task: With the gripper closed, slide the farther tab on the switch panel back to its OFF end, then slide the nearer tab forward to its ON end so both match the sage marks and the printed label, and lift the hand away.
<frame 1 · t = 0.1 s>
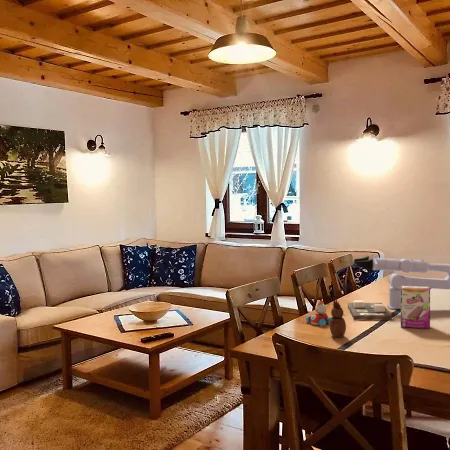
hand: (355, 262, 232), 22 cm above the table, tool horizontal, fingers open, 7 cm apart
switch panel: (368, 313, 222), on the table
tab 1: (358, 303, 226), point 4 cm above the table, slide at 8.0 cm
toy car: (319, 324, 209), on the table
wooden figurine: (337, 336, 189), on the table
tab 2: (379, 307, 217), point 4 cm above the table, slide at 0.0 cm
candy bar box: (415, 327, 197), on the table
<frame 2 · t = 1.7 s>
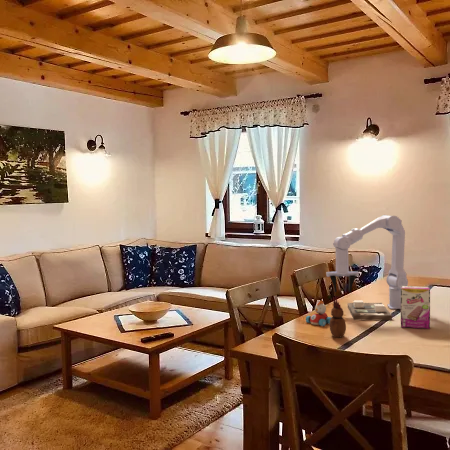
hand: (342, 291, 226), 9 cm above the table, tool pointing down, fingers open, 6 cm apart
nothing on the table moved.
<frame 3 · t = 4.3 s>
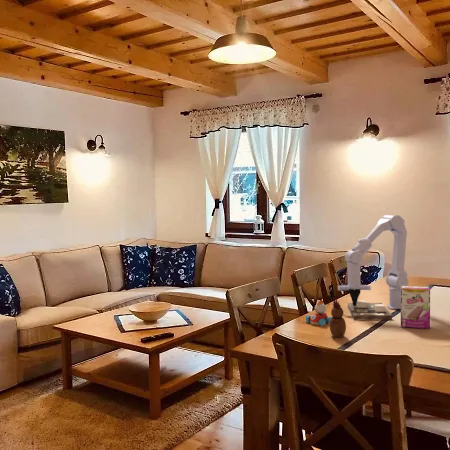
hand: (354, 305, 226), 3 cm above the table, tool pointing down, fingers closed
tab 1: (361, 303, 225), point 4 cm above the table, slide at 6.6 cm, touching gripper
everything else where it was.
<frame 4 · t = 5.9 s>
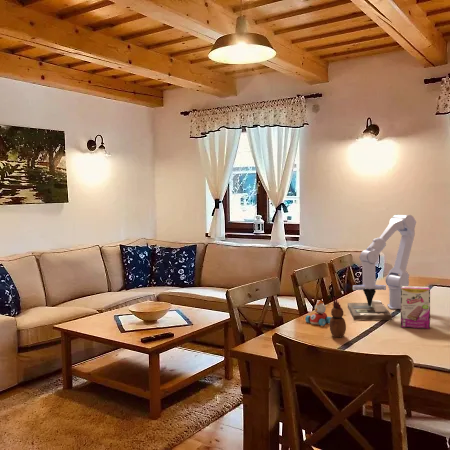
hand: (369, 305, 225), 3 cm above the table, tool pointing down, fingers closed
tab 1: (376, 303, 224), point 4 cm above the table, slide at -0.1 cm, touching gripper
everything else where it was.
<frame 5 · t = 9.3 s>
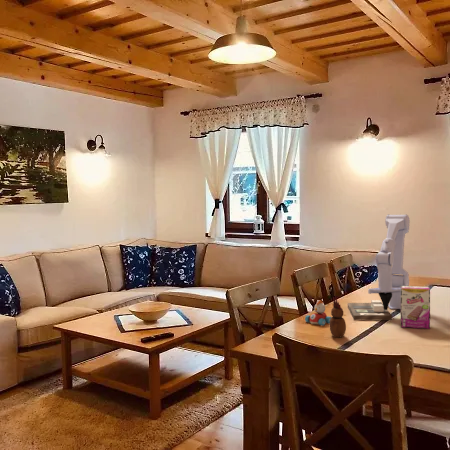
hand: (385, 309, 216), 3 cm above the table, tool pointing down, fingers closed
tab 1: (376, 303, 224), point 4 cm above the table, slide at -0.1 cm
tab 2: (378, 307, 217), point 4 cm above the table, slide at 0.6 cm, touching gripper
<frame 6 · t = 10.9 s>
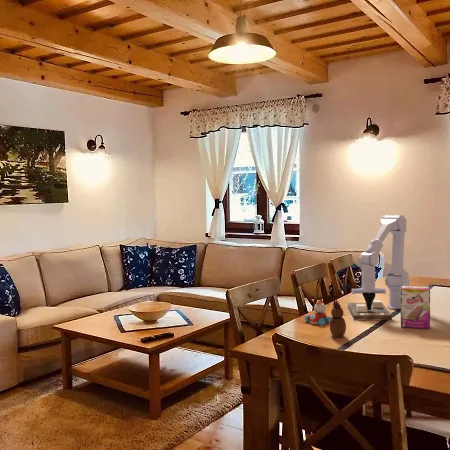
hand: (369, 309, 217), 3 cm above the table, tool pointing down, fingers closed
tab 2: (361, 307, 218), point 4 cm above the table, slide at 7.7 cm, touching gripper
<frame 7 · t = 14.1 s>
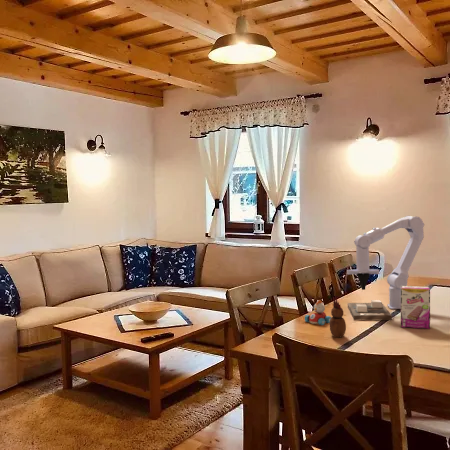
hand: (363, 289, 230), 9 cm above the table, tool pointing down, fingers closed
tab 2: (361, 307, 218), point 4 cm above the table, slide at 7.7 cm
at the end: tab 1 slide at -0.1 cm; tab 2 slide at 7.7 cm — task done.
